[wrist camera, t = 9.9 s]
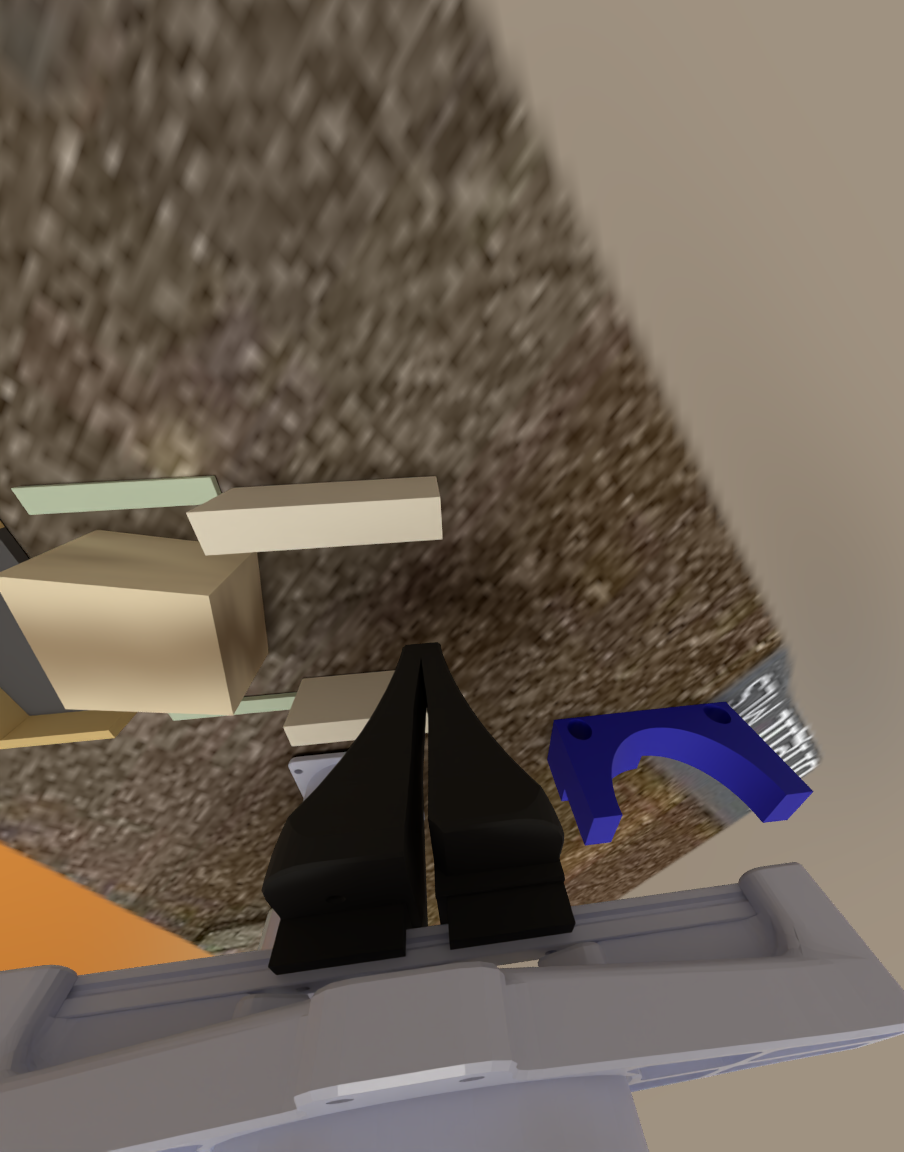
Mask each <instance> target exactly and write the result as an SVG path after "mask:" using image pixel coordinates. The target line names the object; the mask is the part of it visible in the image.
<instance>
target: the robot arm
mask: <svg viewBox="0 0 904 1152" xmlns="http://www.w3.org/2000/svg"><path fill="white" fill-rule="evenodd" d="M426 710H427V714H428V822H429V829H430V836H431V843H432V850H433V857H434V869H435V896H436V899H437V904H438V910H439V917H440V924H441V925H435V926H428V918H427V892H426V864H425V834H424V820H425V815H424V800H423V761H424V744H425V727H426ZM288 767H289V769H290V771H291V773H292V775H293V777H294V779H295V781H296V784H297V786H298V788H299V790H300V792H301V794H302V796H303V798H304V800H303V802H302V803H301V804H300V805H299V806H298V807H297V809H296V810H295V811H294V812H293V813H292V814H291V815H290V816H289V817H288V819H287V821H286V823H285V825H284V827H283V829H282V831H281V834H280V836H279V839H278V841H277V843H276V845H275V848H274V851H273V853H272V856H271V860H270V863H269V866H268V869H267V873H266V876H265V879H264V883H263V886H262V893H263V895H264V897H265V899H266V901H267V902H268V903H269V905H270V906H271V907H272V908H273V910H272V914H271V917H270V921H269V924H268V928H267V932H266V935H265V939H264V942H263V946H262V949H261V950H257V951H250V952H243V953H235V954H228V955H221V956H214V957H207V958H200V959H193V960H186V961H179V962H171V963H164V964H157V965H150V966H142V967H135V968H129V969H121V970H114V971H107V972H100V973H92V974H86V975H78V976H77V973H76V972H75V971H73V970H71V969H70V968H68V967H63V966H59V965H42V966H35V967H28V968H21V969H14V970H6V971H0V1152H649V1150H648V1147H647V1144H646V1140H645V1137H644V1134H643V1130H642V1127H641V1124H640V1120H639V1117H638V1114H637V1111H636V1107H635V1104H634V1101H633V1098H632V1094H631V1092H634V1091H640V1090H644V1089H650V1088H655V1087H659V1086H664V1085H670V1084H675V1083H679V1082H684V1081H690V1080H694V1079H699V1078H705V1077H709V1076H714V1075H720V1074H725V1073H729V1072H734V1071H739V1070H745V1069H750V1068H755V1067H760V1066H765V1065H770V1064H775V1063H780V1062H785V1061H791V1060H796V1059H801V1058H807V1057H811V1056H817V1055H823V1054H828V1053H834V1052H839V1051H845V1050H851V1049H856V1048H859V1047H863V1046H865V1045H869V1044H872V1043H876V1042H879V1041H882V1040H885V1039H888V1038H891V1037H895V1036H898V1035H901V1034H904V990H903V989H902V988H901V986H900V985H899V984H898V983H897V981H896V980H895V979H894V978H893V976H892V975H891V974H890V973H889V972H888V970H887V969H886V968H885V967H884V966H883V964H882V963H881V962H880V961H879V959H878V958H877V957H876V956H875V954H874V953H873V952H872V951H871V950H870V948H869V947H868V946H867V945H866V943H865V942H864V941H863V940H862V938H861V937H860V936H859V935H858V934H857V932H856V931H855V930H854V929H853V927H852V926H851V925H850V924H849V922H848V921H847V920H846V919H845V917H844V916H843V915H842V914H841V913H840V911H839V910H838V909H837V908H836V906H835V905H834V904H833V903H832V901H831V900H830V899H829V898H828V897H827V895H826V894H825V893H824V892H823V891H822V889H821V888H820V887H819V885H818V884H817V883H816V882H815V881H814V879H813V878H812V877H811V876H810V874H809V873H808V872H807V871H806V869H805V868H804V867H803V866H802V865H801V864H799V863H797V862H792V863H785V864H778V865H770V866H763V867H758V868H754V869H752V870H749V871H747V872H746V873H744V874H743V875H742V876H741V878H740V879H739V882H738V883H736V884H730V885H729V884H728V885H722V886H714V887H708V888H700V889H693V890H685V891H678V892H672V893H665V894H657V895H650V896H644V897H636V898H628V899H621V900H614V901H607V902H600V903H593V904H585V905H578V906H571V905H570V902H569V899H568V895H567V892H566V889H565V885H564V881H565V877H564V872H563V869H562V866H561V862H560V859H559V858H560V854H561V850H562V847H563V843H564V832H563V829H562V826H561V824H560V821H559V819H558V817H557V815H556V812H555V810H554V808H553V806H552V805H551V803H550V801H549V799H548V797H547V796H546V794H545V792H544V790H543V789H542V787H541V786H540V785H539V784H538V783H537V782H536V781H535V780H533V779H532V778H531V777H530V776H529V775H528V774H527V773H526V772H525V771H524V770H523V769H522V768H521V767H520V766H519V765H518V764H517V763H516V762H515V761H514V760H513V759H512V758H511V757H510V756H509V755H508V754H507V753H506V752H505V751H504V749H503V748H502V747H501V746H500V745H499V744H498V743H497V741H496V740H495V739H494V738H493V737H492V736H491V734H490V733H489V732H488V731H487V730H486V728H485V727H484V726H483V724H482V723H481V722H480V720H479V719H478V718H477V716H476V715H475V713H474V712H473V711H472V709H471V708H470V706H469V705H468V703H467V702H466V700H465V698H464V697H463V695H462V693H461V692H460V690H459V688H458V686H457V685H456V683H455V681H454V679H453V677H452V675H451V673H450V671H449V669H448V667H447V664H446V662H445V659H444V657H443V654H442V650H441V645H440V644H439V643H438V642H435V643H424V644H412V645H405V646H404V647H403V649H402V653H401V656H400V659H399V662H398V664H397V667H396V669H395V672H394V674H393V676H392V678H391V680H390V682H389V685H388V687H387V689H386V691H385V693H384V694H383V696H382V698H381V700H380V702H379V704H378V705H377V707H376V709H375V711H374V712H373V714H372V716H371V717H370V719H369V721H368V722H367V724H366V725H365V727H364V728H363V730H362V731H361V733H360V734H359V735H358V737H357V738H356V740H355V741H354V742H353V744H352V745H351V747H350V748H349V749H348V751H347V752H339V753H329V754H319V755H310V756H300V757H294V758H292V759H291V760H290V762H289V765H288ZM537 959H539V961H538V966H539V967H526V968H525V967H524V968H500V969H499V968H497V965H504V964H511V963H518V962H524V961H531V960H537Z"/></svg>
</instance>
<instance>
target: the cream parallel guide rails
mask: <svg viewBox="0 0 904 1152" xmlns="http://www.w3.org/2000/svg"><path fill="white" fill-rule="evenodd" d="M186 514H187V516H188V518H189V520H190V523H191V525H192V527H193V529H194V531H195V534H196V536H197V538H198V540H199V542H200V545H201V547H202V549H203V551H204V553H205V556H206V555H221V554H235V553H250V552H264V551H279V550H294V549H308V548H323V547H337V546H352V545H366V544H381V543H396V542H410V541H425V540H439V539H442V521H441V503H440V494H439V488H438V483H437V478H436V476H429V477H411V478H394V479H377V480H359V481H342V482H325V483H307V484H290V485H273V486H255V487H238V488H231V489H230V490H228V491H226V492H224V493H222V494H220V495H218V496H216V497H214V498H213V499H211V500H209V501H207V502H205V503H203V504H201V505H199V506H198V507H196V508H194V509H192V510H190V511H188V512H186ZM394 672H395V670H392V671H381V672H370V673H359V674H348V675H337V676H326V677H315V678H304V679H302V681H301V684H300V686H299V689H298V691H297V694H296V696H295V699H294V701H293V704H292V706H291V709H290V711H289V714H288V716H287V719H286V721H285V724H284V726H283V728H284V730H285V732H286V734H287V737H288V739H289V741H290V743H291V745H292V746H301V745H311V744H321V743H331V742H340V741H350V740H356V738H357V737H358V735H359V734H360V733H361V731H362V730H363V728H364V727H365V725H366V724H367V722H368V721H369V719H370V717H371V716H372V714H373V712H374V711H375V709H376V707H377V705H378V704H379V702H380V700H381V698H382V696H383V694H384V693H385V691H386V689H387V687H388V685H389V682H390V680H391V678H392V676H393V674H394ZM425 733H428V714H427V710H426V727H425Z"/></svg>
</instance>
